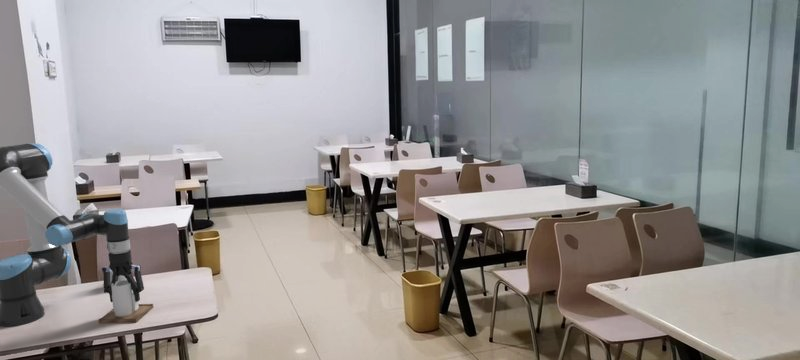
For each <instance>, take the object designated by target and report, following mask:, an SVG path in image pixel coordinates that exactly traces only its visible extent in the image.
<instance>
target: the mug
mask: <svg viewBox="0 0 800 360" xmlns="http://www.w3.org/2000/svg"><path fill="white" fill-rule="evenodd" d="M111 287H112V295H113V302H112V304H113V303H114V310H115V315H116V316H117V317H124V316H128V315H131V314H132V313H133V302H132V294H133V291H132V289H131V283H128V281H127V280H121V281H117V282H116V283H115V285H114V284H113V283H112V284H111Z"/></svg>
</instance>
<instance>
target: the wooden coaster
mask: <svg viewBox="0 0 800 360" xmlns="http://www.w3.org/2000/svg"><path fill="white" fill-rule="evenodd" d="M138 305H139V308H138V309H137V310H136V311H133V313H132V314H131V315H128V316H124V317H117V316H116V315H115V311H114V310H113V308H112V309H110V311H108V312H107V313H106V314H104V315H103V316H102V317H101V318H98V324H114V323H116V324H119V323H121V324H123V323H125V324H126V323H128V324H129V323H138V322H139V321H140V320H141V319H142V318H143V317H144V316H146V315H147V314H148V313H149V312H150V311H151V310H152V309H154V303H138Z"/></svg>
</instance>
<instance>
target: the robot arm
mask: <svg viewBox="0 0 800 360" xmlns="http://www.w3.org/2000/svg"><path fill="white" fill-rule="evenodd" d="M52 166H53V158H52V155H51V153H50V151H49V149H48V148H46V147H45V146H44V145H42V144H40V143H22V144H16V145H8V146H0V189H2V190H4V191H5V192H6V193H7V194H8V195H9V196H10V197H11V198H12V199H13V200H14V201H15V202H16V203H17V204H18V205H19V206H21V208H23V214H24V218H25V223H26V228H27V233H28V238H29V242H30V246H29V247H28V248H27V249H26V250H27V253H24V254H23V253H21V254H16V255H12V256H8V257H6V258H3V259H1V260H0V326H2V327H14V326H20V325H26V324H28V323H31V322H35V321H37V320H39V319H40V318H42V317H43V316H44V315H46V314H45V307H44V306H43V304H42V303H41V301H40V298H39V297H38V295H37V291H36V290H37V288H36V286H39V285H42V284H44V283H47V282H49V281H52V280H57V279H58V278H60V277H62V276H64V275H66V274H67V273H68V272H69V270H70V269H71V267H72V256H71V253H70V252H69V251H68V249H67V248H66V247H63V246H66V245H69V244H72V243H74V242H77V241H81V240H83V239H87V238H90V237H93V236H97V235H98V236H105V238H106V244H107V252H108V262H109V265H105V266H104V267H102V268H101V270H102V274H104V275H103V293H105V294H106V293H107V294H109V295H108V296H109V300H110V302H111V303H112V307H113V308H112V309H113V310H114V303H113V295H112V287H111V285H110V269H111V270H112V272H113V275H112V282H111V284H112V283H113V284H114V285H115V283H116V282H117V281H118V278H119V276H120V275H122V276H125V278H126V279H127V281H128V283H131V289H132V291H133V294H132V302H133V311H136V310H137V309H138V308H139V305H138V304H139V301H140V300H141V297H140V293H142V292H143V291H144V290H145V286H144V282H143V277H142V272H141V268H142V267H141V265H140V264H138V265H135V264H133V262H132V259H133V258H132V250H131V241H130V234H129V233H130V231H129V225H128V224H129V223H128V222H129V220H128V216H127V211H126V210H124V209H121V208H112V209H108V210H105V211H104V212H103V214H99V213H97V214H96V213H84V214H82V215H80V217H78V218H77V219H73V220H71V219H69V218H68V217H67V216H66V215H65V214H64V213H63V212H61V210H60V209H58V207H56V206H55V205H54V204H53V203H52V202H51V201H50V200H49V197H48V192H47V187H46V183H45V181H46V180H47V178H48V177H49V173H48V172H49V170H51V169H52ZM132 271H133V272H132ZM133 274H134V275H133ZM114 311H115V310H114Z"/></svg>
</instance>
